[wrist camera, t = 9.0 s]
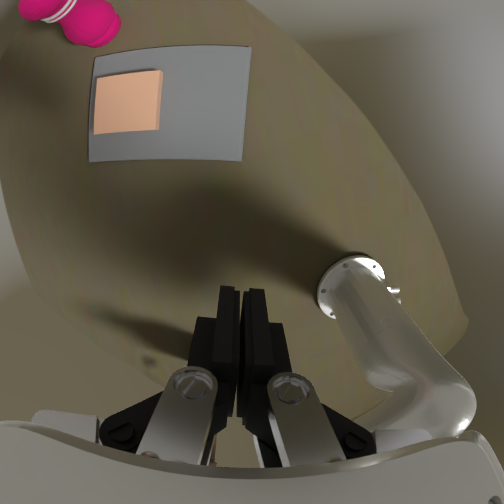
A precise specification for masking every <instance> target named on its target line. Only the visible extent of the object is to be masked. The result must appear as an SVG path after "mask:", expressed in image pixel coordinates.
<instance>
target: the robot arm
mask: <svg viewBox="0 0 504 504" xmlns="http://www.w3.org/2000/svg"><path fill="white" fill-rule="evenodd" d="M397 293H399V286H389V285H388V284H387V283H386V282H385V276H384V272H383V270H382V267H381V266H380V265H379V264H378V263H377V262H376V261H375V260H374V259H372V258H370V257H368V256H364V255H355V256H349V257H346V258H344V259H342V260H340V261H338V262H336V263H335V264H334V265H332V266H331V267H330V268H329V269H328V270H327V271H326V272H325V274H324V275H323V277H322V278H321V280H320V282H319V285H318V288H317V301H318V304H319V306H320V308H321V310H322V311H323V312H324V313H325V314H326V315H327V316H329V317H331V318H334V319H336V320H337V322H338V324H339V326H340V328H341V330H342V332H343V334H344V336H345V338H346V341H347V343H348V345H349V347H350V349H351V351H352V353H353V355H354V358H355V360H356V362H357V364H358V366H359V369H360V371H361V373H362V375H363V376H364V378H365V379H366V380H367V381H368V382H369V383H370V384H371V385H373V386H375V387H377V388H380V389H383V390H387V391H391V392H393V393H392V395H391V396H390V397H388V398H387V399H386V400H384V401H383V402H382V403H381V404H379V405H378V406H376V407H375V408H373V409H372V410H370V411H369V412H367V413H366V414H364V415H362V416H361V417H359V418H357V419H356V420H354V421H351V420H349V419H348V418H346V417H344V416H342V415H341V414H339V413H337V412H336V411H334V410H332V409H331V408H329V407H327V406H326V405H324V404H322V403H321V402H320V399H319V397H318V395H317V393H316V390H315V388H314V386H313V385H312V383H311V382H310V381H309V380H308V379H307V378H306V377H304V376H302V375H300V374H297V373H293V372H292V369H291V364H290V359H289V354H288V349H287V344H286V339H285V334H284V329H283V325H282V323H269V321H268V314H267V307H266V300H265V292H264V289H255V288H250V289H249V292H247V291H244V294H243V302H242V310H241V318H240V291H235V290H234V287H232V286H220V293H219V301H218V310H217V318H207V317H197V320H196V325H195V330H194V335H193V339H192V344H191V349H190V354H189V359H188V365H187V367H183V368H180V369H178V370H176V371H175V372H173V373H172V375H171V376H170V377H169V379H168V382H167V384H166V386H165V388H164V390H163V391H162V392H160V393H158V394H156V395H154V396H152V397H150V398H148V399H146V400H144V401H142V402H139V403H137V404H135V405H133V406H131V407H129V408H127V409H125V410H122V411H120V412H118V413H116V414H114V415H111V416H110V417H108V418H106V419H98V417H97V416H91V415H81V414H73V413H66V412H59V411H53V410H41V411H38V412H37V413H36V414H35V415H34V416H33V418H32V420H31V422H23V421H1V422H0V504H504V471H503V469H502V467H501V465H500V463H499V461H498V459H497V457H496V455H495V453H494V451H493V450H492V448H491V446H490V445H489V443H488V442H487V440H486V439H485V438H484V437H483V435H481V434H480V433H478V432H476V431H467V432H464V433H462V432H463V431H464V430H465V429H466V428H467V427H468V425H469V424H470V422H471V421H472V419H473V417H474V414H475V411H476V398H475V395H474V392H473V390H472V389H471V387H470V386H469V384H468V383H467V382H466V381H465V379H464V378H463V377H462V376H461V375H460V374H459V373H458V372H457V371H456V370H455V369H454V368H453V367H452V366H451V365H450V364H449V363H448V362H447V361H446V360H445V359H444V358H443V357H442V356H441V355H440V354H439V352H438V351H437V350H436V349H435V348H434V346H433V345H432V344H431V343H430V341H429V340H428V339H427V338H426V336H425V335H424V334H423V332H422V331H421V330H420V328H419V327H418V326H417V325H416V323H415V322H414V321H413V319H412V318H411V317H410V316H409V314H408V313H407V312H406V310H405V309H404V308H403V307H402V305H401V299H400V297H399V296H393V294H397ZM236 386H237V417H242V425H245V428H246V429H247V430H249V431H250V432H251V433H252V434H253V439H254V443H255V447H256V451H257V456H258V460H259V464H260V468H229V467H215V466H208V465H209V461H210V457H211V453H212V448H213V444H214V440H215V434H217V433H218V432H219V431H221V430H222V429H224V428H225V427H226V423H227V417H232V414H233V407H234V400H235V393H236ZM461 433H462V434H461Z"/></svg>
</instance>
